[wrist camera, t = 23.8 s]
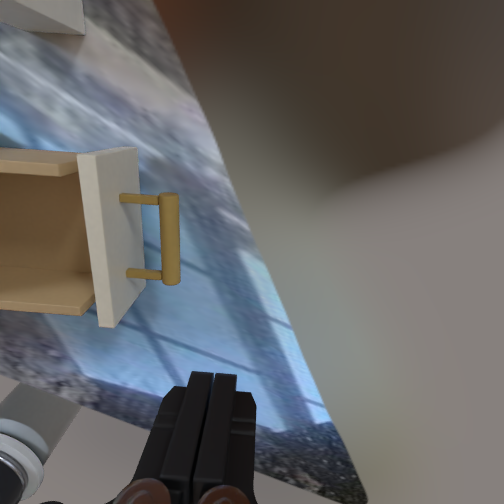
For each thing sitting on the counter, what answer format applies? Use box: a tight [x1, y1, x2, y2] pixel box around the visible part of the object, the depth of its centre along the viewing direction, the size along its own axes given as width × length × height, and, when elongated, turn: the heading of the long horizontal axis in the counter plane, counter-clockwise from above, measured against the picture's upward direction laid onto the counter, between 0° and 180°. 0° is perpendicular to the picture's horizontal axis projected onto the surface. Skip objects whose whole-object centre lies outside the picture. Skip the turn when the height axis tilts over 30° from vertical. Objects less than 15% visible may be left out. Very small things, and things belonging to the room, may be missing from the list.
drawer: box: [0, 146, 181, 328], centre depth 25 cm, size 19×12×7 cm, turn 86°
